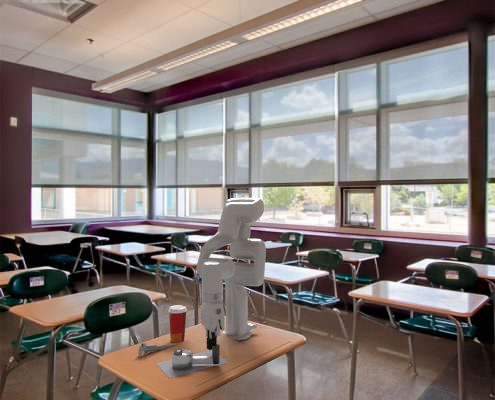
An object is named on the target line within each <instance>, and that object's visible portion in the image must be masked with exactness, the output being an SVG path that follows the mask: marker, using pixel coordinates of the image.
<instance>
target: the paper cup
mask: <svg viewBox="0 0 495 400" xmlns="http://www.w3.org/2000/svg"><path fill="white" fill-rule="evenodd" d="M167 311H168V314H169V315H168V317H169V333H170V334H169V335H170V343H171V344H175V343H178V344H179V343H180V344H181V343H184V342H185V336H186V335H185V334H186V320H187V319H186V318H187V312H188V309H187V306H185V305H182V304H181V305H180V304H177V305H176V304H175V305H171V306H170V307H169V308H168V310H167Z"/></svg>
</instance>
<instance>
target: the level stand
mask: <svg viewBox="0 0 495 400" xmlns="http://www.w3.org/2000/svg"><path fill="white" fill-rule="evenodd" d="M193 356H212V350H204V351H201V352H198V353H197V352H196V353H193ZM226 364H229V361H227V359H225V358H223V357H222V356H221V355H220V363H219V364H193V365H192V367H190V368H188V369H185V370H177V369H174V368H173V367H172V358H171V359H167V360H164V361H160V362H156V363H155V365H156V366H157V367H158V368H159V369H160V370H161V371H162V372H163V373H164V374H165V375H166V376H167V377H168V378H169V379H173V378H176V377H177V378H178V377H179V376H184V375H187V374H190V373H191V374H192V373H195V372H198V371H202V370H206V369H209V368H213V367H218V366H220V365H226Z"/></svg>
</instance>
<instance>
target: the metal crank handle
mask: <svg viewBox="0 0 495 400" xmlns="http://www.w3.org/2000/svg"><path fill="white" fill-rule="evenodd" d="M220 348H221V346H220V344H219V343H217V344H214V345H212V356H193V354H194V353H193V351H192V350H190V349H181V348H177V349H174V350H173V352H172V355H171V359H172V367H173V368H174V369H177V370H185V369H188V368H190V367H192V365H193V364H219V363H220V356H221V354H220V350H221V349H220Z"/></svg>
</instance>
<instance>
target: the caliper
mask: <svg viewBox="0 0 495 400" xmlns="http://www.w3.org/2000/svg"><path fill="white" fill-rule="evenodd" d="M178 344H179V343H165V344H159V345H157V344H147V343H146V342H141V344H140V345H139V348H138V351H137V352H138V353H137V356H138V357H139V358H140V357H142V356H143V355H144V356H147V355H148V353H156V352H157V351H159V350H164V349H168V348H170V347H173V346H176V345H178Z"/></svg>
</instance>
